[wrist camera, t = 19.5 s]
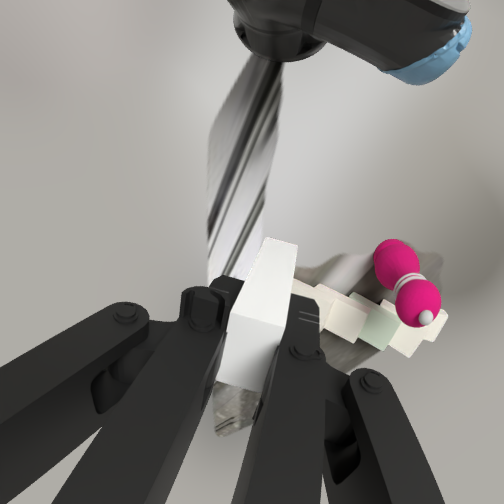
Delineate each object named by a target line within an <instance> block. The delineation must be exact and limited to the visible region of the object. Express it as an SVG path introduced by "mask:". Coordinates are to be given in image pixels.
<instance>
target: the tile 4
mask: <svg viewBox="0 0 504 504" xmlns="http://www.w3.org/2000/svg"><path fill="white" fill-rule="evenodd" d="M380 306H381V307H383V308H384V309H386V310H388V311H390V312H392V313H394V314H395V315H397V313H396V309H395V305H393V304H391V303H390V302H388V301H387V300H385V299H383V301H382V303H381V304H380ZM397 316H398V315H397ZM428 329H429V326H427V325H426V326H424V327H420V328H414V327H410V326H407V325H406V324H404V323H403V322H402V321H401V324H400V326H399V327H398V329H397V331H396V333H395V334H394V336H393V338H392V339H391V341H390V342H389V344H388V345H389V346H391V347H392V348H394V349H396V350H397V351H399V352H400V353H402V354H404V355H405V356H407V357H408V358H410V357H411V355H412V354H413V352H414V351H415V350H416V348H417V347H418V346H419V344H420V343H421V342H422V340H423V339H424V337H425V336H426V335H427V333H428Z"/></svg>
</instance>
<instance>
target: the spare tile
mask: <svg viewBox="0 0 504 504" xmlns="http://www.w3.org/2000/svg"><path fill="white" fill-rule="evenodd" d="M349 298H351V299H353V300H355V301H357V302H359V303H361V304H363V305H365V306H367V307H369V308H371V311H370V313H369V316H368V318H367V320H366V322H365V324H364V326H363V328H362V330H361V332H360V334H359V336H358V337H359V338H360V339H362V340H364V341H366V342H367V343H369V344H371V345H373V346H374V347H376V348H378V349H380V350H381V351H385V349H386V347H387V346H388V344H389V342H390V341H391V339H392V338H393V336H394V334H395V333H396V331H397V329H398V327H399V326H400V324H401V320H400V318H399V317H398V316H397V315H395V314H394V313H392V312H390V311H388V310H386V309H384V308H383V307H381V306H379V305H377V304H375V303H374V302H372V301H370V300H368V299H366V298H364V297H363V296H361V295H359V294H357V293H355V292H353V293H352V294H351V295H350V296H349Z"/></svg>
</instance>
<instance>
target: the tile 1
mask: <svg viewBox="0 0 504 504" xmlns="http://www.w3.org/2000/svg"><path fill="white" fill-rule="evenodd" d="M291 293H293V294H297V295H300V296H304V297H308V298H311V299H314V300H315V301H316V303H317V304H318V306H319V309H320V316H319V317H320V323H319V324H320V332H321V331H322V330H323V329H324V327H325V324H326V322H327V320H328V317H329V315H330V312H331V310H332V307H333V305H334V302H335V299H336V298H335V297H333V296H330V295H328V294H326V293H324V292H322V291H320V290H318V289H316V288H313V287H311V286H309V285H307V284H305V283H303V282H301V281H299V280H296V279H294V278H293V283H292V289H291Z"/></svg>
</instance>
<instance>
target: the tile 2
mask: <svg viewBox="0 0 504 504" xmlns="http://www.w3.org/2000/svg"><path fill="white" fill-rule="evenodd" d="M314 288H316V289H318V290H320V291H322V292H324V293H326V294H328V295H330V296H333V297H335V298H336V299H335V302H334V305H333V307H332V310H331V312H330V315H329V317H328V320H327V322H326V324H325V327H324V328H325V329H327V330H329V331H331V332H333V333H334V334H336V335H338V336H340V337H342V338H344V339H346V340H348V341H350V342H352V343H353V344H354V343H355V341H356V340H357V338H358V336H359V334H360V332H361V330H362V328H363V326H364V324H365V322H366V320H367V318H368V316H369V313H370V311H371V308H369V307H367V306H365V305H363V304H361V303H359V302H357V301H355V300H353V299H351V298H349V297H347V296H345V295H343V294H341V293H339V292H337V291H335V290H333V289H331V288H328V287H326V286H324V285H322V284H320V283H319V284H318V285H317V286H315V287H314Z"/></svg>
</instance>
